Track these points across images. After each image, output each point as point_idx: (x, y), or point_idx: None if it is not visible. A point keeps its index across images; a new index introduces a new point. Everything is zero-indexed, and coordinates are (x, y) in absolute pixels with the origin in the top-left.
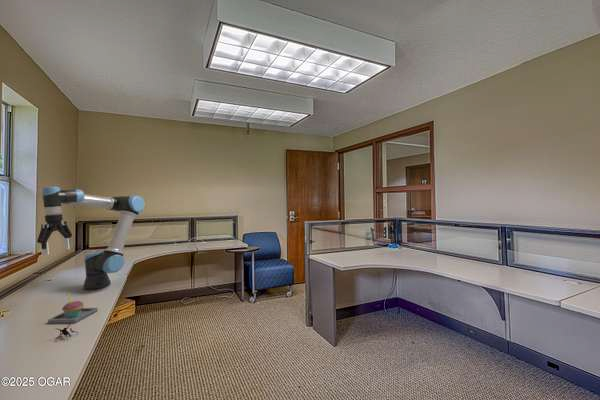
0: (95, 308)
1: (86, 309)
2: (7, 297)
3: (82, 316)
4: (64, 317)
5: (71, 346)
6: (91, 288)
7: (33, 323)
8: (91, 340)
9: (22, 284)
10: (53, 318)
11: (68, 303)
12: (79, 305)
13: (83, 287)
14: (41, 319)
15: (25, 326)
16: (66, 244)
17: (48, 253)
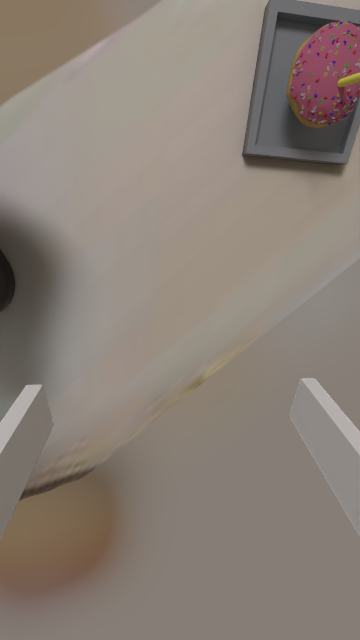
0: (279, 1)
1: (267, 65)
2: (100, 460)
3: (354, 12)
4: (313, 129)
5: None
6: (6, 266)
7: (319, 224)
8: None
9: None
10: (335, 153)
11: (345, 90)
12: (352, 24)
13: (2, 309)
14: (291, 224)
15: (336, 231)
16: (18, 452)
17: (315, 386)
